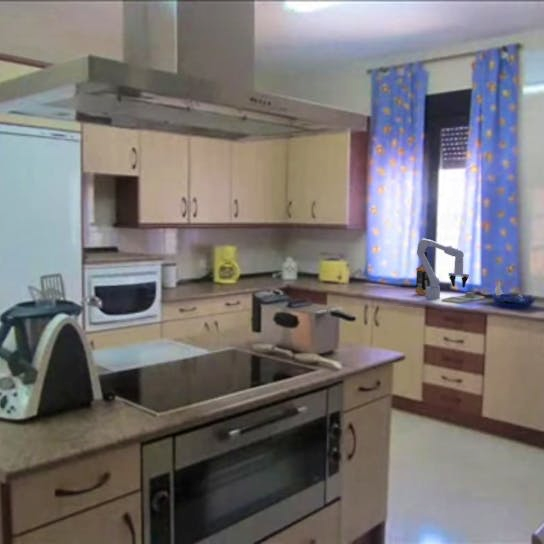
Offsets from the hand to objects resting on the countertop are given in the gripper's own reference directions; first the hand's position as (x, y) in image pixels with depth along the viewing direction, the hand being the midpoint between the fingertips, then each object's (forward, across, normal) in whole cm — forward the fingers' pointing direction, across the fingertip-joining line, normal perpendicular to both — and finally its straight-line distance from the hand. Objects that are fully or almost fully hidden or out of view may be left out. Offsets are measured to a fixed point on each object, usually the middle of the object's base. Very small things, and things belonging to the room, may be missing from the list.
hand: (458, 286), depth 422 cm
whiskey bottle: (+10, -32, +8) cm, 34 cm away
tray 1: (+9, +4, -10) cm, 15 cm away
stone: (+8, +7, +4) cm, 12 cm away
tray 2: (+9, +7, +4) cm, 12 cm away
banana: (+10, +31, +12) cm, 35 cm away
